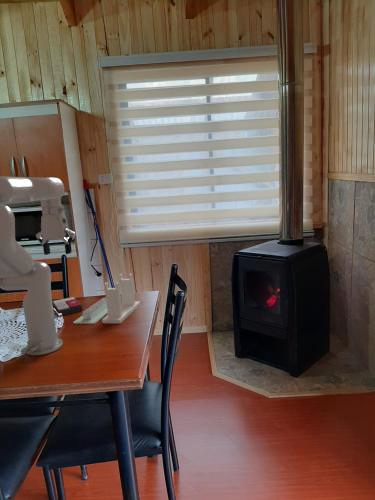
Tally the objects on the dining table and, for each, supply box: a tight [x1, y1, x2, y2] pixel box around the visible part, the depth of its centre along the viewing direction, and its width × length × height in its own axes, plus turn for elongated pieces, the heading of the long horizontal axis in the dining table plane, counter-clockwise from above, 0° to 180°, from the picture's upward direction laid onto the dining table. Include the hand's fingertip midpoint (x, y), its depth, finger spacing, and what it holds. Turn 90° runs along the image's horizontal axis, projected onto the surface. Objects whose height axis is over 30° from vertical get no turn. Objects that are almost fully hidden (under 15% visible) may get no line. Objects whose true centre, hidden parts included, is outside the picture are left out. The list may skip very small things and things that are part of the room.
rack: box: [101, 273, 141, 324], centre depth 159 cm, size 24×8×16 cm, turn 167°
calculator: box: [52, 296, 84, 316], centre depth 172 cm, size 11×4×15 cm
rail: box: [82, 296, 107, 320], centre depth 163 cm, size 20×4×4 cm, turn 167°
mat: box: [72, 308, 108, 325], centre depth 164 cm, size 26×10×1 cm, turn 167°
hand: (58, 253), depth 147 cm, fingers open, 9 cm apart
